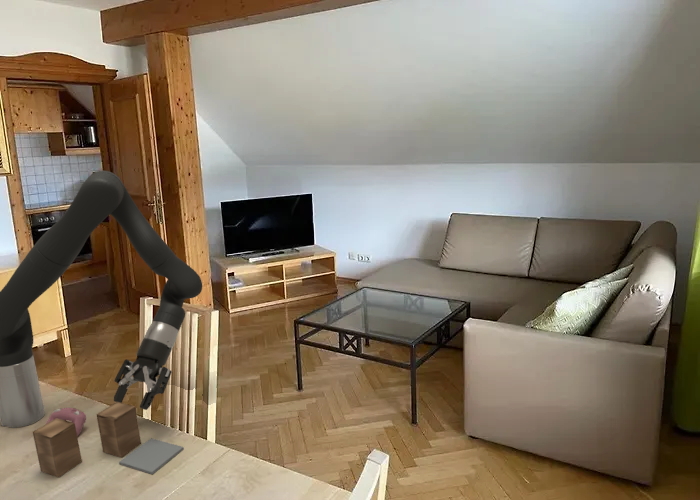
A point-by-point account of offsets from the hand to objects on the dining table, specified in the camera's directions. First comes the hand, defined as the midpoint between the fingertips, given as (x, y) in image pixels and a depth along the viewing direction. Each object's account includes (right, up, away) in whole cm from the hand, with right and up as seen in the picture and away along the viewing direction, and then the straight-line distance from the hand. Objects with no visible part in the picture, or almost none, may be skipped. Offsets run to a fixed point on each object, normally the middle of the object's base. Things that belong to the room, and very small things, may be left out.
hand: (130, 405), depth 133 cm
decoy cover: (-13, -12, -7) cm, 19 cm away
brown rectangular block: (-1, -10, -1) cm, 10 cm away
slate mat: (+7, -10, -5) cm, 14 cm away
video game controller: (-19, -9, +7) cm, 22 cm away
